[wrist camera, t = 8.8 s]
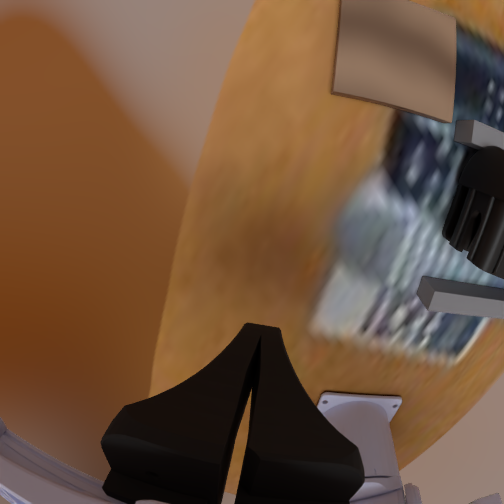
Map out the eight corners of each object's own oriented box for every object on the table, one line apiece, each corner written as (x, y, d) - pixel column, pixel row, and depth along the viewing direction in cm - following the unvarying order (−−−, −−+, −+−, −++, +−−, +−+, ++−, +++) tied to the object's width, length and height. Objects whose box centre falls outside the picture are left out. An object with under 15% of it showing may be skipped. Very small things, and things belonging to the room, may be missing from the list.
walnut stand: (443, 123, 17) (451, 122, 16) (331, 94, 17) (333, 91, 16) (448, 23, 14) (455, 18, 13) (340, -10, 15) (342, -17, 13)
